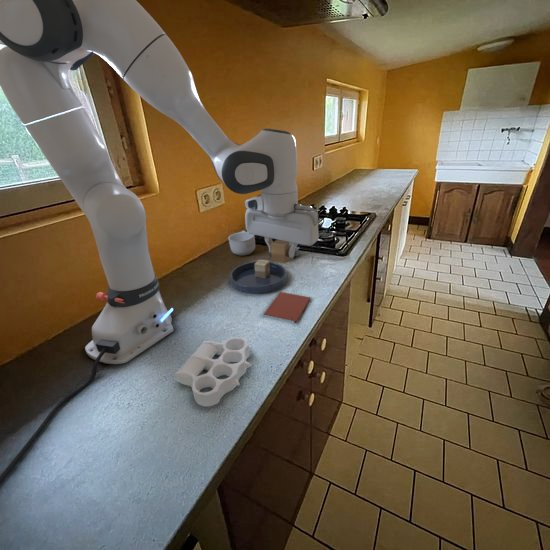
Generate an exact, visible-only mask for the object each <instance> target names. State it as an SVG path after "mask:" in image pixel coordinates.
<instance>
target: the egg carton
mask: <svg viewBox="0 0 550 550" xmlns="http://www.w3.org/2000/svg"><path fill="white" fill-rule="evenodd" d="M299 250H300V246H297V247H296V248H295V249H294V256H293V257H292V258H291V259H290V260H294V259H295V257H298V256H299Z"/></svg>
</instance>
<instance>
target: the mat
mask: <svg viewBox="0 0 550 550" xmlns="http://www.w3.org/2000/svg"><path fill="white" fill-rule="evenodd" d="M310 300H311V297H310V296H304V295H299V294H298V295H297V294H293V293H288V292H283V291H280V292H279V293H278V295H276V297H275V299H274V300H273V301H272V302H271V303H270V304H269V306H268V308H266V310H265V311H264V312H263V315H266V316H270V317H274V318H277V319H283V320H288V321H292V322H294V323H296V324H297V323H298V321H299V320H300V318H301V316H302V314H303V313H304V311H305V309H306V307H307V306H308V304H309V302H310Z"/></svg>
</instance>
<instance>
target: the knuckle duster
mask: <svg viewBox="0 0 550 550" xmlns="http://www.w3.org/2000/svg"><path fill="white" fill-rule="evenodd" d="M214 356H219V357H218V358H215V359H214ZM250 356H251V354H250V344H249V341H247V340H246V339H245V338H243V337H231V338H229V339H227V340H225V341H223V342H217V341H212V340H205V341H202V342H201V345H200V346H199V347H198V348H197V349H196V351H195V352H194V353H193V354H192V355H190V356H188V359H187V360H186V361H185V362H184V364H183V365H182V366H181V367H180V368H179V369H178V370H177V371H176V372H174V374H173V378H174V380H175V381H176V382H178V383H179V384H182V385H184V386H188V387H191V389H192V395H193V398H194V401H195V402H196V404H197V405H199V406H200V407H207V408H209V407H213V406H216V405H217V404H219V403H220V401H221V399H222V397H223V396H224V395H226V394H227V393H229V392H232V391H233V390H234V389H235V388H236V387H237V386H238V387H239V386H241V384H240V382H239V381H240V378H241V377H243V376H244V375H245V374H246V372H247V369H248V368H251V367H252V366H253V365H252V364H251V363H250V362H249V361H247V360H248V359H249V357H250ZM203 370H205V371H207V372H206V373H203V374H201V373H202V372H203ZM221 376H222V377H223V376H227V377H226V378H223V379H221V378H220V379H219V377H221ZM205 388H210V389H212V390H210V391H207V392H201V390H203V389H205Z"/></svg>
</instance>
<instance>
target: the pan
mask: <svg viewBox="0 0 550 550" xmlns="http://www.w3.org/2000/svg"><path fill="white" fill-rule="evenodd" d="M257 261H258V260H256V261H250V262H249V261H248V262H245V263H242V264H239V265H238V266H235V267H234V268H233V269H232V270H231V271H230V273H229V281H230V285H231V287H232V288H233V289H234V290H236V291H238V292H241V293H244V294H250V295H261V294H268V293H271V292H274V291H277V290H279V289H280V288H282V287H283V286H284V285H285V284H286V283H287V278H288V277H287V271H286V270H287V269H286V268H285V267H284V266H283V265H281V264H279V263H278V262H274V261H269V262H270V274H269V275H268V276H267V277H266V278H261V277H255V265H254V264H255V263H256V262H257Z"/></svg>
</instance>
